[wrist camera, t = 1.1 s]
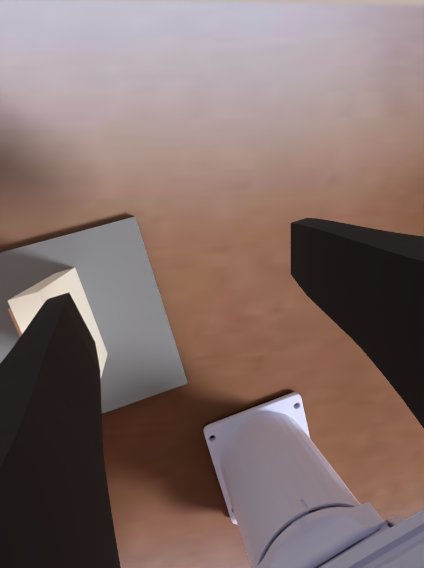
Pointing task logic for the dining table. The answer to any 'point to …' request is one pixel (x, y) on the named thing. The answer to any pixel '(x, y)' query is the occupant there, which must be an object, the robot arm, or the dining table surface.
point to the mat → (105, 306)
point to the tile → (55, 285)
